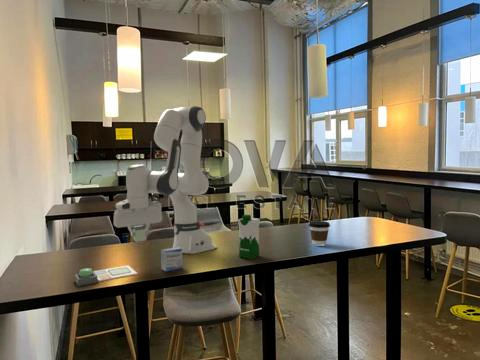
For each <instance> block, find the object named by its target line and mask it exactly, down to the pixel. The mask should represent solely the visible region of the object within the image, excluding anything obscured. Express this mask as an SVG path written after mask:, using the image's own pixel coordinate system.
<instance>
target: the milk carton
mask: <svg viewBox="0 0 480 360" xmlns="http://www.w3.org/2000/svg"><path fill="white" fill-rule="evenodd" d="M260 222H261V219H260V218H255V217H252V215H251V214H242V217H241V218H239V219H237V224H238V243H239V245H238V247H239V248H238V258H239V257H243V258H242V259H244V258H249V259H248V260H250V259H252V260H254V259H253V258H255V257H257V256H259V255H260V239H259V238H260V236H259V235H260V231H259V229H260ZM259 257H260V256H259ZM257 258H258V257H257ZM255 259H256V258H255Z"/></svg>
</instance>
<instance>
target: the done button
mask: <svg viewBox="0 0 480 360" xmlns="http://www.w3.org/2000/svg"><path fill="white" fill-rule="evenodd" d="M92 271H93V269H92V268H89V267H88V268H87V267H86V268H82V269H79V274H80V278H85V277H91V276H92Z"/></svg>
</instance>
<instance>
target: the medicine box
mask: <svg viewBox="0 0 480 360" xmlns="http://www.w3.org/2000/svg"><path fill="white" fill-rule="evenodd" d="M160 263H161V270H163V271H164V272H171V271H176V270H180V269H183V253H182V249H181V248H179V247H174V248H173V247H169V248H164V249H163V248H162V249H160Z"/></svg>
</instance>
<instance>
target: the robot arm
mask: <svg viewBox="0 0 480 360" xmlns="http://www.w3.org/2000/svg"><path fill="white" fill-rule="evenodd" d="M206 120H207V116H206V112H205V110H204V109H203V108H202V107H200V106H182V107H177V108H176V107H175V108H169V109H166V110H164V111H163V113H162V114H161V116H160V118H159V121H158V123H156V124H157V125H156V127H155V129H154V130H155V131H154V133H153V141H154V142H155V144H156V145H157V146H158V147H159V148H160V149H161V150H163V151H165V152H167V160H166V166H165V169H164V170H162V171H153V170H150V169H149V168H147V167H146V165H145V164H142V163H141V164H140V163H139V164H133V165H129V166H128V167H127V169H126V174H125V185H126V186H125V187H126V190H127V193H126V199H124V200H122V201H119V202H116V203H115V208H116V209H115V210H114V212H113V226H114V227H116V228H125V227H127V229H128V231H129V232H130V237H133V236H135V232H134V231H133V226H140V225H143V226H144V225H145V235H148V234H149V229H150V227H151V224H156V223H162V221H163V213H162V205H163V204H162V203H161V202H160V201H158V200H157V201H156V200H155V201H149V200H150V199H149V194H158V195H159V194H160V195H166V196H169V198H170V201H171V202H172V205H173V211H174V223H173V232H174V239H173V245H172V248H174V247H179V248H181V249H182V254H190V255H191V254H195V255H196V254H198V253H202V252H208V251H211V250H215V248H216V247H217V245H216V244H215V243H213V242H212V241H213V239H212V237H211V235H210V234H209V233H207V232H206V231H205V230H203V229H202V228H201V227H204V226H205V224H204V223H203V222H199V221H198V217H197V216H198V214H197V213H198V212H197V210H198V209H197V205H196V204H195V203H193V202H192V201H191V199H190V198H189V196H200V195H204V194H206V193H207V191H208V189H209V185H210V182H209V180H208V177H207V176H206V175H205V174H204V172H203V170H202V167H201V155H202V154H201V153H202V146H203V132H202V129H203V127H204V125H205V124H206ZM181 132H182V135H181V138H180V137H179V136H180V133H181ZM179 138H180V140H179ZM180 165H182V167H183V170H184V172H179V170H180ZM216 249H217V248H216Z"/></svg>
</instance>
